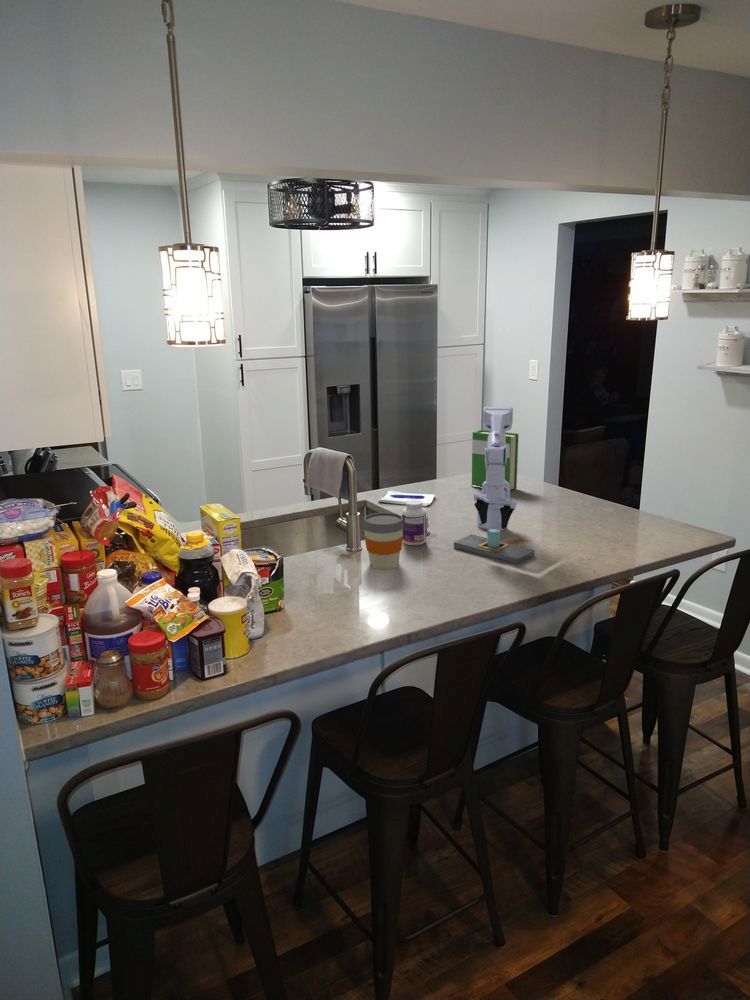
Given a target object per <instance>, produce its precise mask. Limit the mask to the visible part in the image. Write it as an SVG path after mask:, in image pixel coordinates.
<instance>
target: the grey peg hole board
mask: <svg viewBox="0 0 750 1000" xmlns="http://www.w3.org/2000/svg"><path fill="white" fill-rule="evenodd" d="M453 549H457V550H460V551H464V552H468V553H471V554H474V555H479V556H482V557H485V558H490V559H493V560H497V561H501V562H505V563H508V564H512V565H515V566H518V565H521V564H522V563H524V562H526V561H528V560H529V559H532V558H533V557H535V549H532V548H529V547H525V546H524V547H523V546H517V545H512V544H508V543H504V542H500V548H498V549H493V548H489V547H487V537H484V536H481V535H475V534H472V533H471V534H469V535H467V536H464V537H462V538H460V539H458V540H455V541H453ZM455 551H456V550H455ZM457 552H458V551H456V553H457ZM466 555H469V554H466ZM477 558H480V557H478V556H477ZM503 565H505V566H506V564H503ZM515 566H514V568H516V569H517V567H515Z"/></svg>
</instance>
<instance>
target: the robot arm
mask: <svg viewBox="0 0 750 1000" xmlns="http://www.w3.org/2000/svg"><path fill="white" fill-rule="evenodd" d="M482 410H483V411H482V412H483V413H482V414H483V415H482V416H483V417H482V423H483V428H484V430H488V431H490V434H489V435H488V441H487V450H485V464H486V481H485V482H484V483H483V485H482V489H481V493H478V492H477V493H475V494H473V501H475V502H474V507H475V509H476V511H477V523H476V525H477V527H478V528H481V529H485V530H487V531H488V530H490V529H496V530H499V531H500V532H501V531H504V530H505V529H507V528H508V524H509V521H510V519H511V516H512V514H513V512H514V511H515V509H516V508H517V501H516V500H512V499H511V490H510V485H509V483H508V482H507V481H506V480H505V465H506V460H507V449H506V437H505V432H508V431H511V430H512V427H513V423H514V422H513V421H514V419H513V415H514V408H513V407H512V406H487V405H485V406H484V407H483V409H482ZM503 462H505V465H504V463H503Z"/></svg>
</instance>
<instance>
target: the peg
mask: <svg viewBox="0 0 750 1000" xmlns="http://www.w3.org/2000/svg"><path fill="white" fill-rule="evenodd" d="M486 533H487V537H486V538H487V547H489V548H493V549H498V548H500V541H501V531H499V530H496V529H490V530H487V532H486Z"/></svg>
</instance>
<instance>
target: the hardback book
mask: <svg viewBox="0 0 750 1000" xmlns="http://www.w3.org/2000/svg"><path fill="white" fill-rule="evenodd" d="M489 434H490V431H488V430H485V429H479V430H475V431H473V432H472V438H471V440H472V443H471V444H472V448H471V451H472V452H471V453H472V454H471V455H472V456H471V486H472V485H476V486H480V487H482V485H483V483H484V482H485V481H486V464H485V450H487V441H488V435H489ZM505 437H506V449H507V460H506V465H505V462H503V463H504V465H505V480H506V481H507V482H508V483H509V485H510V491H511V490H514V489H516V488H518V487H517V485H518V460H519V458H518V457H519V433H513V432H508V431H506V432H505ZM513 488H514V489H513ZM516 490H517V489H516Z"/></svg>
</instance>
